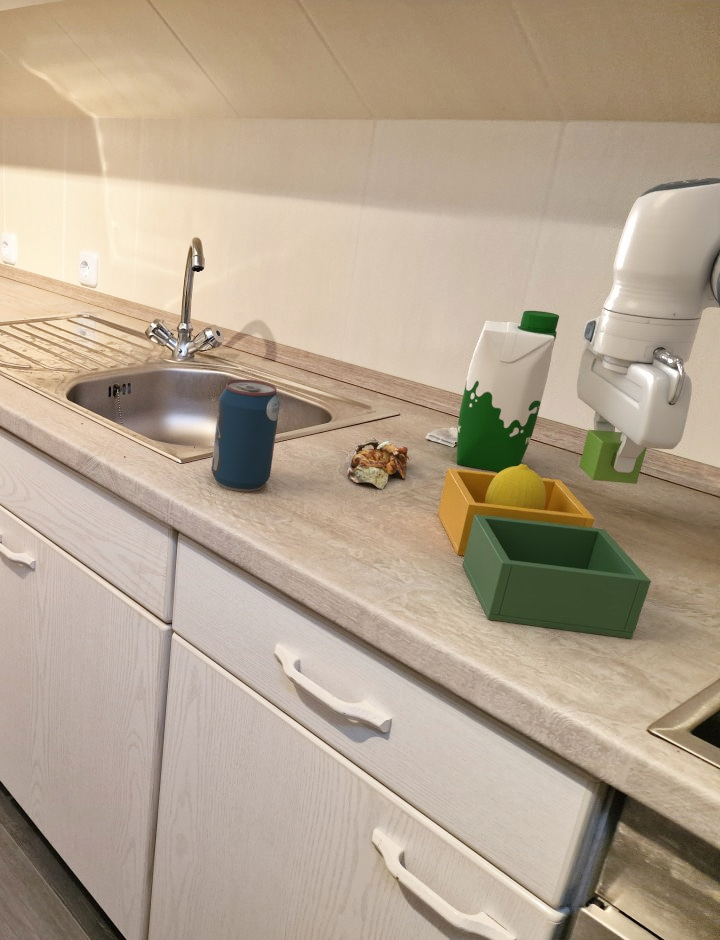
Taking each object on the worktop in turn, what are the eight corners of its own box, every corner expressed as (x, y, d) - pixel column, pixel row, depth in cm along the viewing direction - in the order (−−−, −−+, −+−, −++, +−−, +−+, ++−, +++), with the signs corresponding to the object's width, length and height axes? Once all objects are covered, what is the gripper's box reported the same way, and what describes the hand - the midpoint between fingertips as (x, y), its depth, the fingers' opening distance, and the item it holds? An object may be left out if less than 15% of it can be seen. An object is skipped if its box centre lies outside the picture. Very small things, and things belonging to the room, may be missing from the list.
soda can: (280, 487, 101) (294, 389, 97) (238, 498, 98) (251, 397, 93) (239, 468, 107) (251, 375, 102) (198, 478, 103) (208, 381, 98)
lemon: (478, 520, 93) (495, 451, 90) (534, 531, 91) (553, 461, 88) (476, 539, 89) (493, 467, 86) (535, 551, 86) (555, 478, 83)
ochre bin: (547, 526, 94) (560, 479, 92) (580, 570, 84) (595, 518, 82) (437, 513, 96) (447, 467, 94) (457, 555, 86) (468, 504, 84)
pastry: (341, 482, 104) (346, 455, 102) (354, 453, 114) (358, 428, 113) (401, 494, 101) (407, 465, 100) (409, 463, 111) (414, 437, 110)
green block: (621, 470, 98) (631, 432, 96) (636, 484, 94) (647, 445, 92) (578, 466, 99) (588, 429, 97) (592, 480, 95) (602, 441, 93)
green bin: (588, 581, 82) (604, 528, 80) (632, 639, 72) (651, 581, 70) (461, 565, 84) (474, 513, 82) (487, 619, 74) (502, 562, 72)
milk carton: (523, 479, 108) (564, 321, 100) (447, 465, 111) (481, 312, 104) (523, 458, 115) (561, 310, 108) (452, 446, 119) (483, 302, 111)
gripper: (724, 363, 81) (683, 498, 86) (638, 323, 99) (608, 436, 104) (651, 359, 82) (614, 492, 87) (579, 320, 100) (553, 431, 105)
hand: (610, 461), depth 96 cm, fingers closed on green block, 4 cm apart
